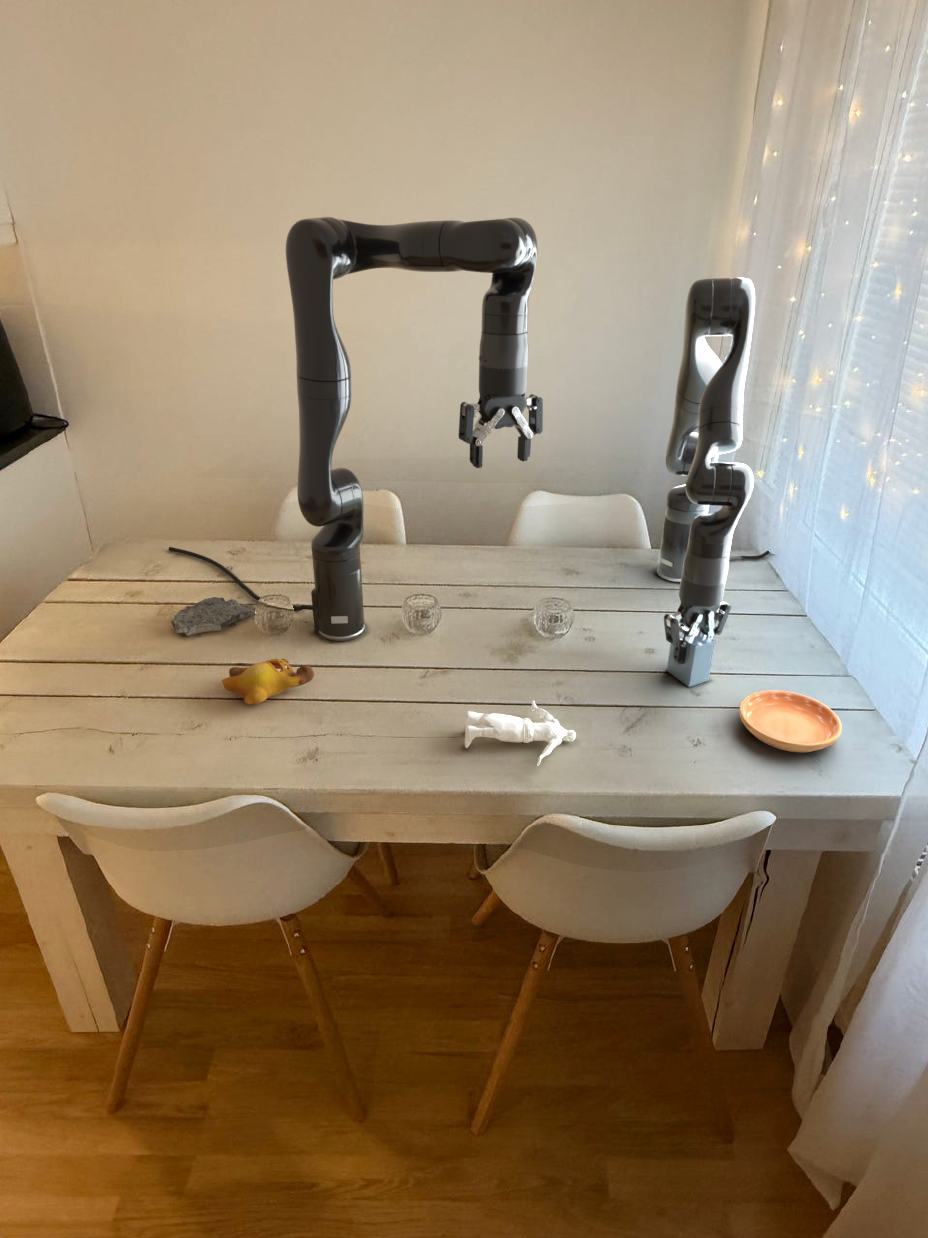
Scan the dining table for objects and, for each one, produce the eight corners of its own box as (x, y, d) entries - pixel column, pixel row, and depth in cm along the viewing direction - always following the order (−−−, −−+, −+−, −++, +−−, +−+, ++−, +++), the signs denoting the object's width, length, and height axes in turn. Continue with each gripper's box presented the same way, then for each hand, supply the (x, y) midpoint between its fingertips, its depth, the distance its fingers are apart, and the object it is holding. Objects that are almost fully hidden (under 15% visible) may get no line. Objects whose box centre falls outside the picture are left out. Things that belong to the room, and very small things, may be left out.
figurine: (463, 772, 126) (578, 784, 127) (467, 744, 123) (584, 757, 124) (464, 709, 141) (566, 721, 142) (468, 684, 139) (572, 696, 139)
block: (688, 687, 148) (695, 647, 144) (666, 670, 153) (672, 631, 149) (708, 680, 150) (715, 641, 146) (685, 664, 155) (692, 625, 151)
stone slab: (156, 626, 166) (154, 613, 164) (223, 596, 177) (221, 584, 176) (194, 646, 159) (192, 633, 158) (261, 614, 171) (259, 601, 169)
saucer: (730, 699, 144) (733, 685, 143) (824, 707, 142) (828, 693, 141) (745, 755, 130) (748, 740, 129) (849, 764, 128) (854, 749, 127)
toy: (214, 669, 145) (294, 645, 152) (223, 703, 146) (302, 678, 153) (228, 678, 135) (313, 652, 142) (238, 714, 136) (322, 687, 143)
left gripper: (474, 370, 120) (472, 476, 128) (555, 362, 126) (549, 464, 134) (451, 361, 126) (451, 462, 134) (530, 353, 132) (525, 451, 140)
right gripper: (686, 591, 136) (673, 678, 144) (750, 575, 142) (734, 659, 150) (657, 574, 142) (646, 658, 150) (720, 559, 147) (706, 641, 156)
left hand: (500, 463), depth 134 cm, fingers open, 8 cm apart
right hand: (690, 658), depth 150 cm, fingers closed on block, 4 cm apart
